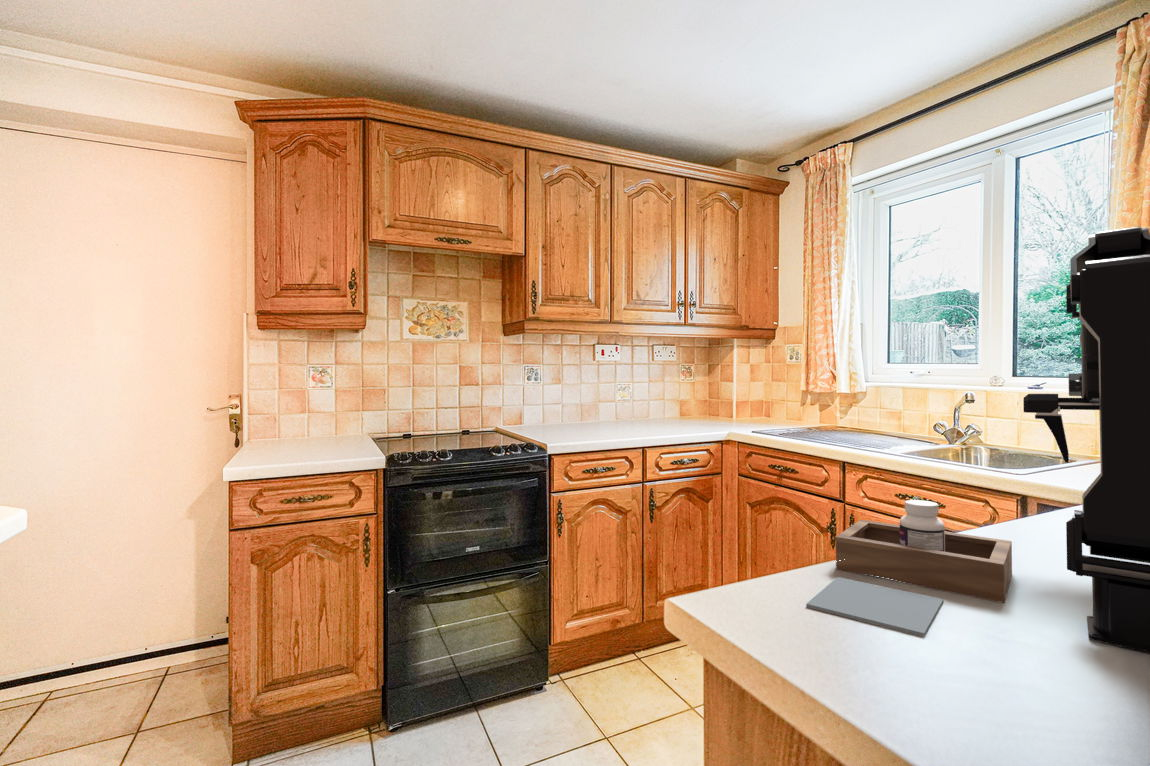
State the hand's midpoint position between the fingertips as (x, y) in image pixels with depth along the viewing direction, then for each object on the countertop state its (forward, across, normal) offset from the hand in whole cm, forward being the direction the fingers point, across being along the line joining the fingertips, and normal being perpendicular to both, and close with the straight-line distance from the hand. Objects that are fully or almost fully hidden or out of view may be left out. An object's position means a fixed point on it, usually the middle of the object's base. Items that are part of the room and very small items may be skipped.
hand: (1110, 465), depth 77 cm
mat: (+15, +22, +35) cm, 44 cm away
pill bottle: (+15, +20, +18) cm, 31 cm away
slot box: (+15, +20, +18) cm, 31 cm away
